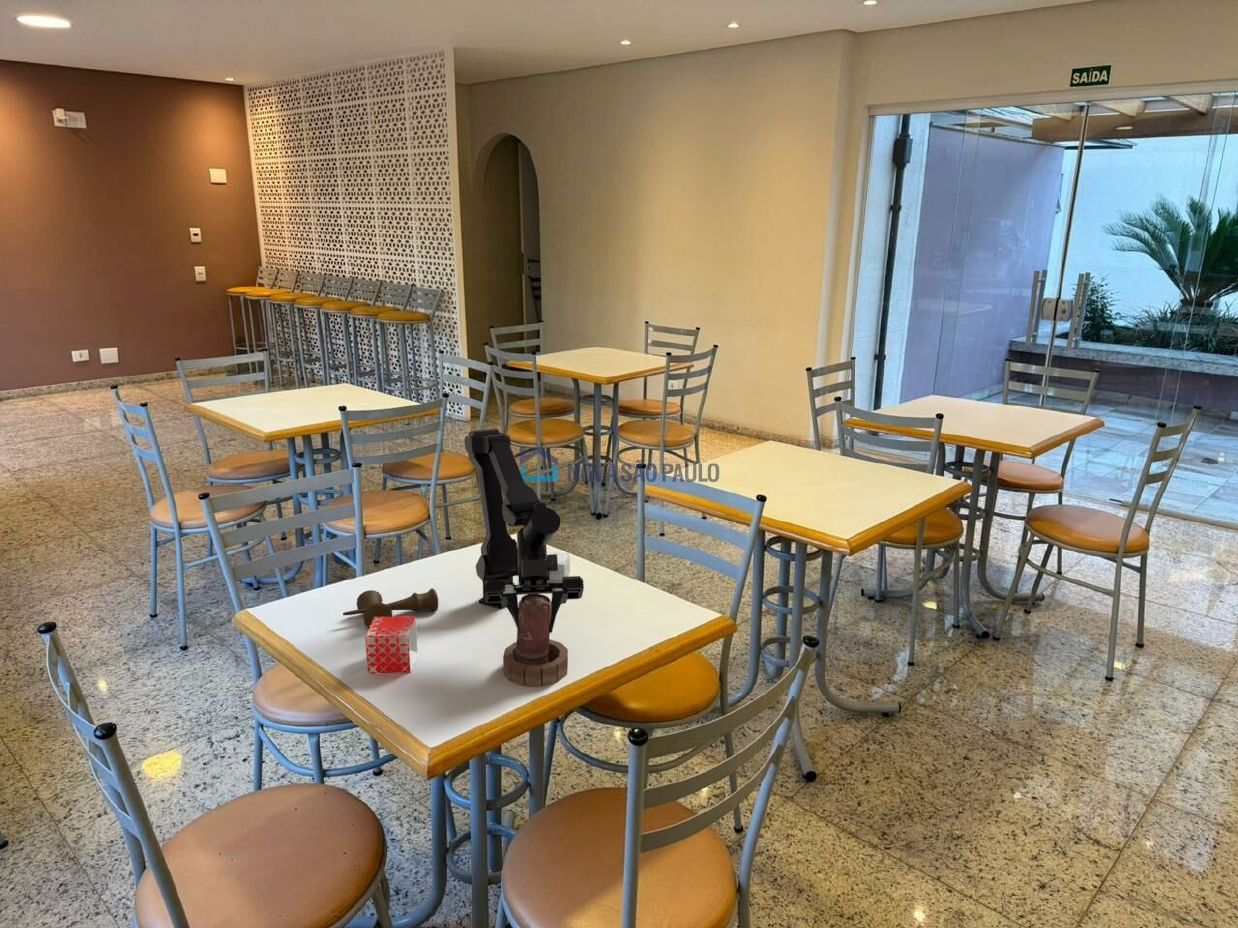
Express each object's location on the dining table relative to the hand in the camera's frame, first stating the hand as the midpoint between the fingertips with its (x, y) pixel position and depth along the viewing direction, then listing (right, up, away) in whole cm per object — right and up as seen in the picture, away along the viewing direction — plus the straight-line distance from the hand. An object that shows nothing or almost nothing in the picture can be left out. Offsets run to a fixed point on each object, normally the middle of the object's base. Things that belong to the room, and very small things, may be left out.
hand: (535, 632), depth 152 cm
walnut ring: (0, -8, +3) cm, 8 cm away
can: (-1, -7, +3) cm, 8 cm away
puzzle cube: (-28, -7, +5) cm, 29 cm away
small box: (-1, +4, +47) cm, 47 cm away
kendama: (-34, -2, +24) cm, 41 cm away
